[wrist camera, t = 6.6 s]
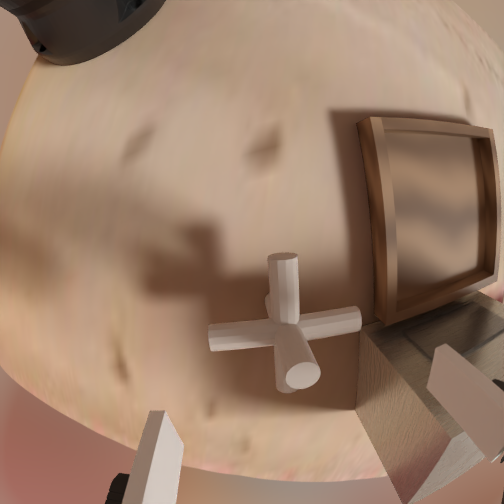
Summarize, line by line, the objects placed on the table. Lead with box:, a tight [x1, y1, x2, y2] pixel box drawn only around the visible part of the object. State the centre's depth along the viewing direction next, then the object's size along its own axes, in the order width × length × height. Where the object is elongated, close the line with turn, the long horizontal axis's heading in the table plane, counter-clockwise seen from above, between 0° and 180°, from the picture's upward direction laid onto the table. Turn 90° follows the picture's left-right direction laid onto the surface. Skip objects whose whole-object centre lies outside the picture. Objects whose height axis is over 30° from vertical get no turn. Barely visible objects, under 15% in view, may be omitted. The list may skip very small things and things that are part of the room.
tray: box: [356, 117, 501, 326], centre depth 20 cm, size 17×17×2 cm
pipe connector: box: [208, 253, 362, 393], centre depth 17 cm, size 10×10×10 cm
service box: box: [355, 291, 504, 504], centre depth 18 cm, size 13×16×15 cm
